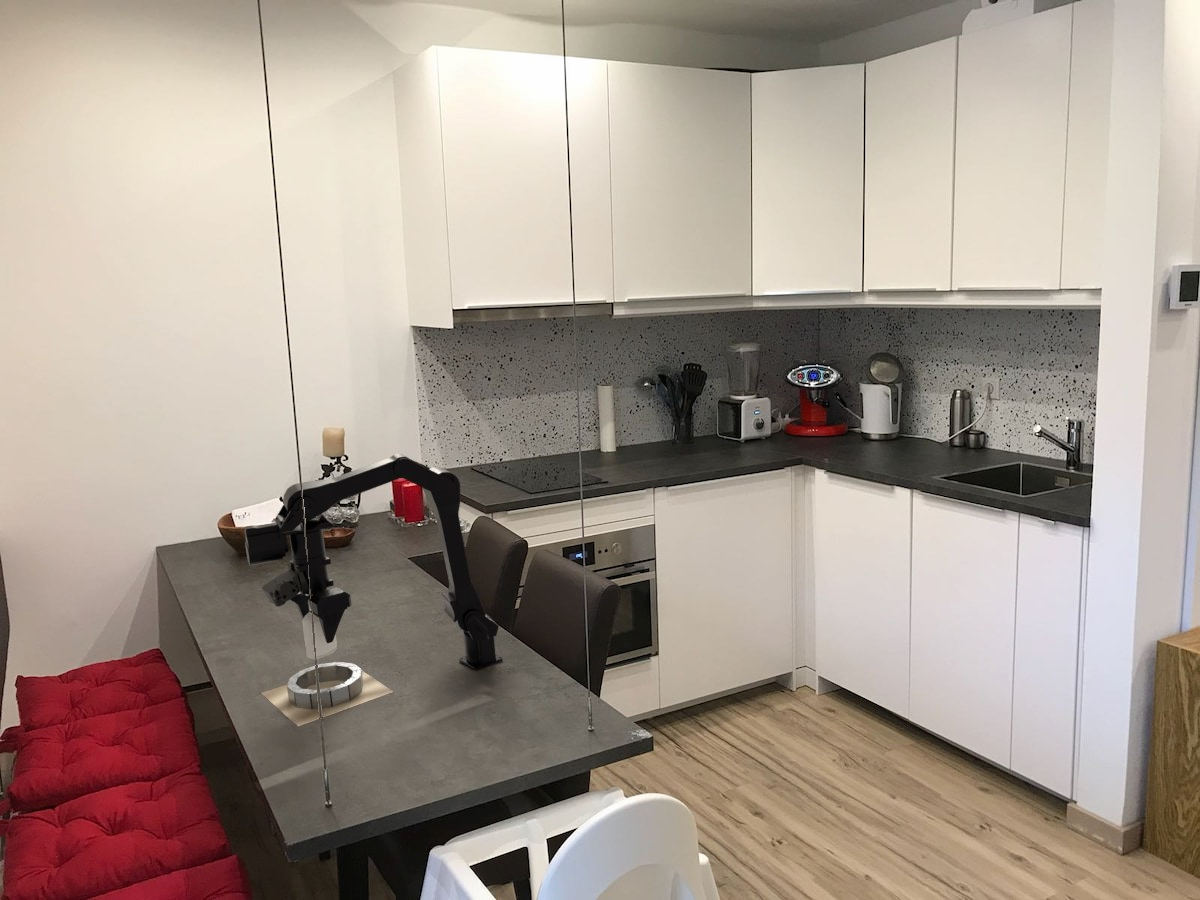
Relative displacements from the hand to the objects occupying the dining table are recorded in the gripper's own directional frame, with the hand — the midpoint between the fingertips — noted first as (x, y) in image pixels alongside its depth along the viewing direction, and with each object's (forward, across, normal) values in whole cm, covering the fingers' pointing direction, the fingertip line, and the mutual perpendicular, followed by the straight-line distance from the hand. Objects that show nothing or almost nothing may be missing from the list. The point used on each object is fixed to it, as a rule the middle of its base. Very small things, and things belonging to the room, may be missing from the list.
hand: (319, 636), depth 172 cm
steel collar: (+11, 0, 0) cm, 11 cm away
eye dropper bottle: (+4, 0, 0) cm, 4 cm away
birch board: (+12, 0, 0) cm, 12 cm away
